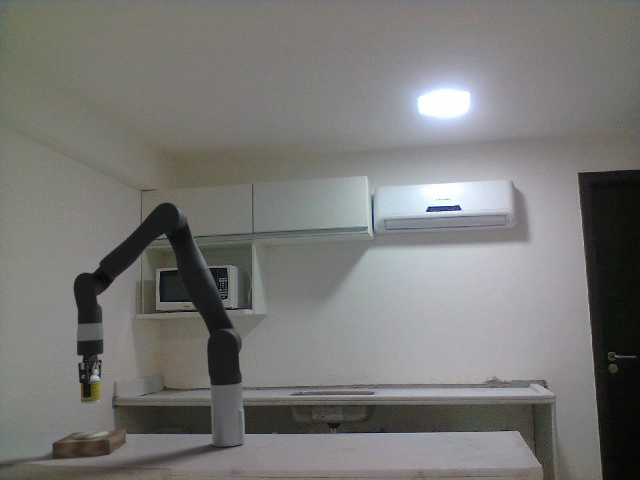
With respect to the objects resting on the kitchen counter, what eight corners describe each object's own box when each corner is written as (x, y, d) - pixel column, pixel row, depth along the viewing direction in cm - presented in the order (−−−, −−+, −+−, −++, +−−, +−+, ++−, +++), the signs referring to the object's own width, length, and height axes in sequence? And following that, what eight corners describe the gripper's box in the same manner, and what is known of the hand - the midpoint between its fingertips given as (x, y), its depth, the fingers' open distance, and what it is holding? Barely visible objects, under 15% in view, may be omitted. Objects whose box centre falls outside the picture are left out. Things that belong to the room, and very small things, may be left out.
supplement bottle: (93, 403, 178) (93, 370, 180) (77, 404, 179) (76, 370, 181) (103, 401, 184) (103, 368, 185) (87, 401, 185) (87, 369, 186)
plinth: (125, 442, 188) (125, 427, 189) (109, 454, 172) (109, 437, 173) (73, 446, 188) (73, 431, 188) (52, 458, 172) (52, 441, 172)
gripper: (94, 339, 177) (95, 398, 175) (110, 337, 191) (110, 392, 189) (68, 340, 177) (68, 400, 175) (85, 338, 191) (86, 394, 189)
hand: (90, 395), depth 182 cm, fingers closed on supplement bottle, 5 cm apart
